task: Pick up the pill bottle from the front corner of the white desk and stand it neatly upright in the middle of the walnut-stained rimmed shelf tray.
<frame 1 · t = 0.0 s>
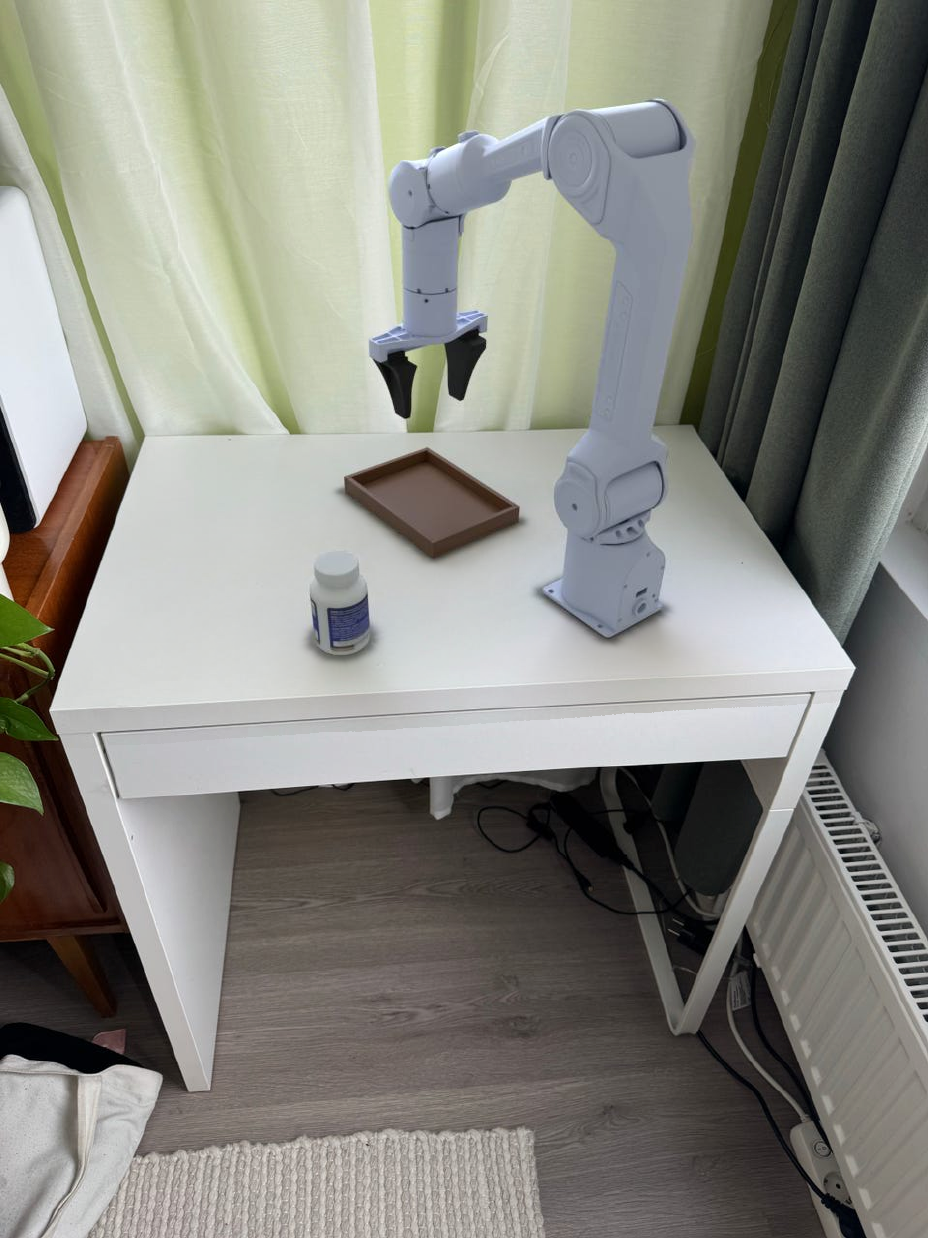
hand: (429, 406, 105), 10 cm above the table, tool pointing down, fingers open, 7 cm apart
pill bottle: (342, 640, 88), on the table
shelf tray: (430, 506, 107), on the table
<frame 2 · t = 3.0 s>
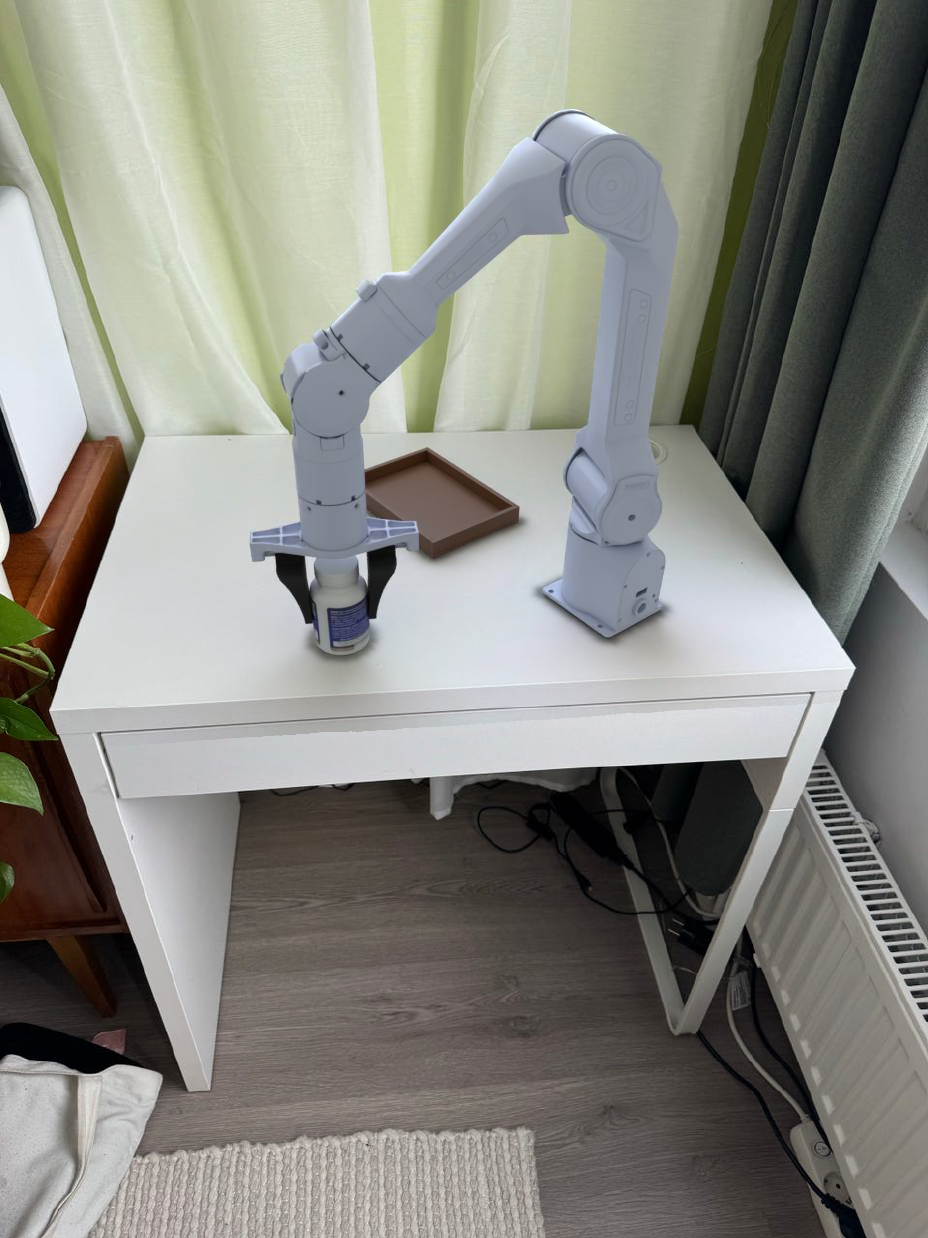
hand: (341, 614, 86), 3 cm above the table, tool pointing down, fingers closed on pill bottle, 5 cm apart
pill bottle: (342, 640, 88), on the table, touching gripper
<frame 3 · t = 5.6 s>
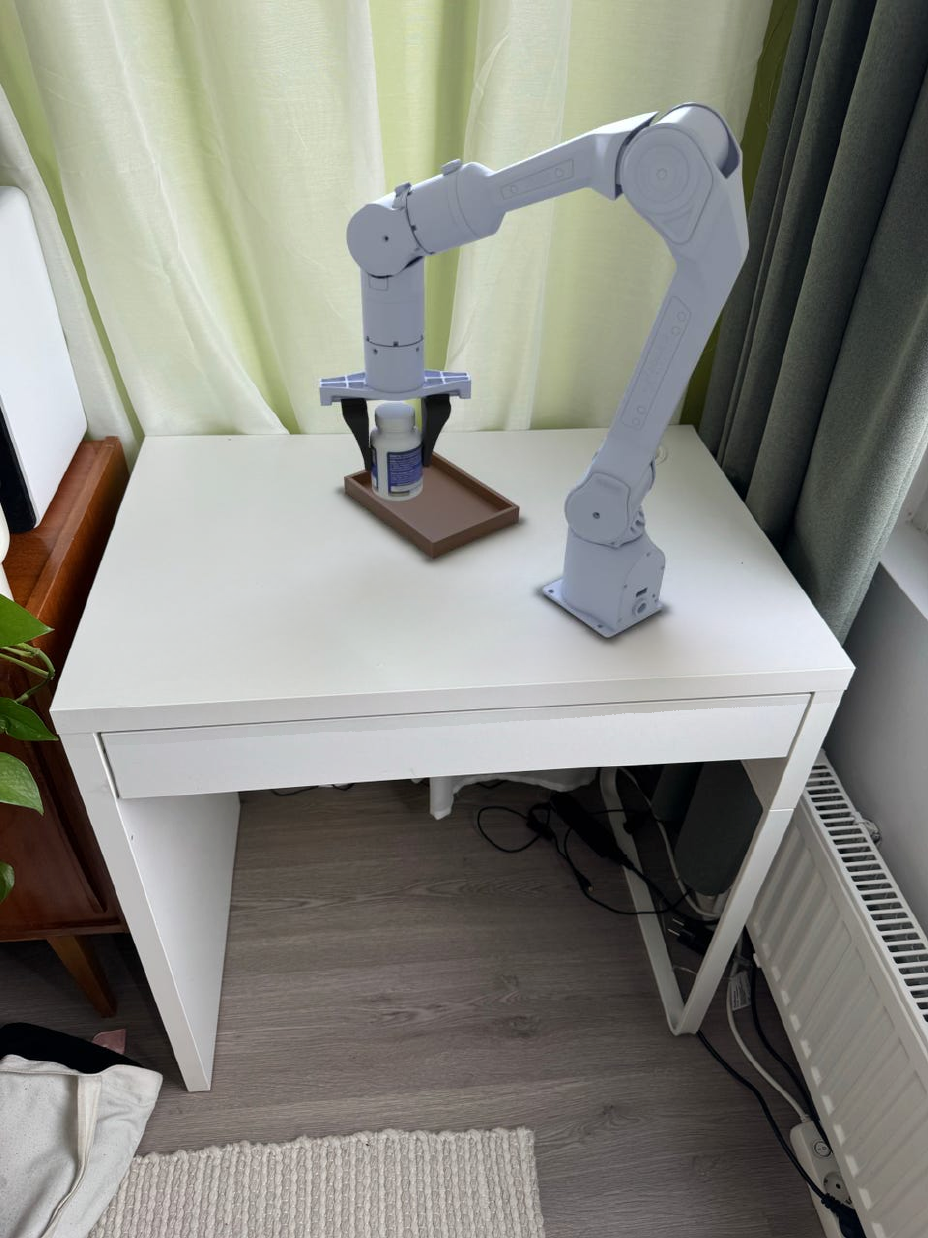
hand: (397, 464, 95), 10 cm above the table, tool pointing down, fingers closed on pill bottle, 5 cm apart
pill bottle: (397, 490, 96), point 7 cm above the table, touching gripper
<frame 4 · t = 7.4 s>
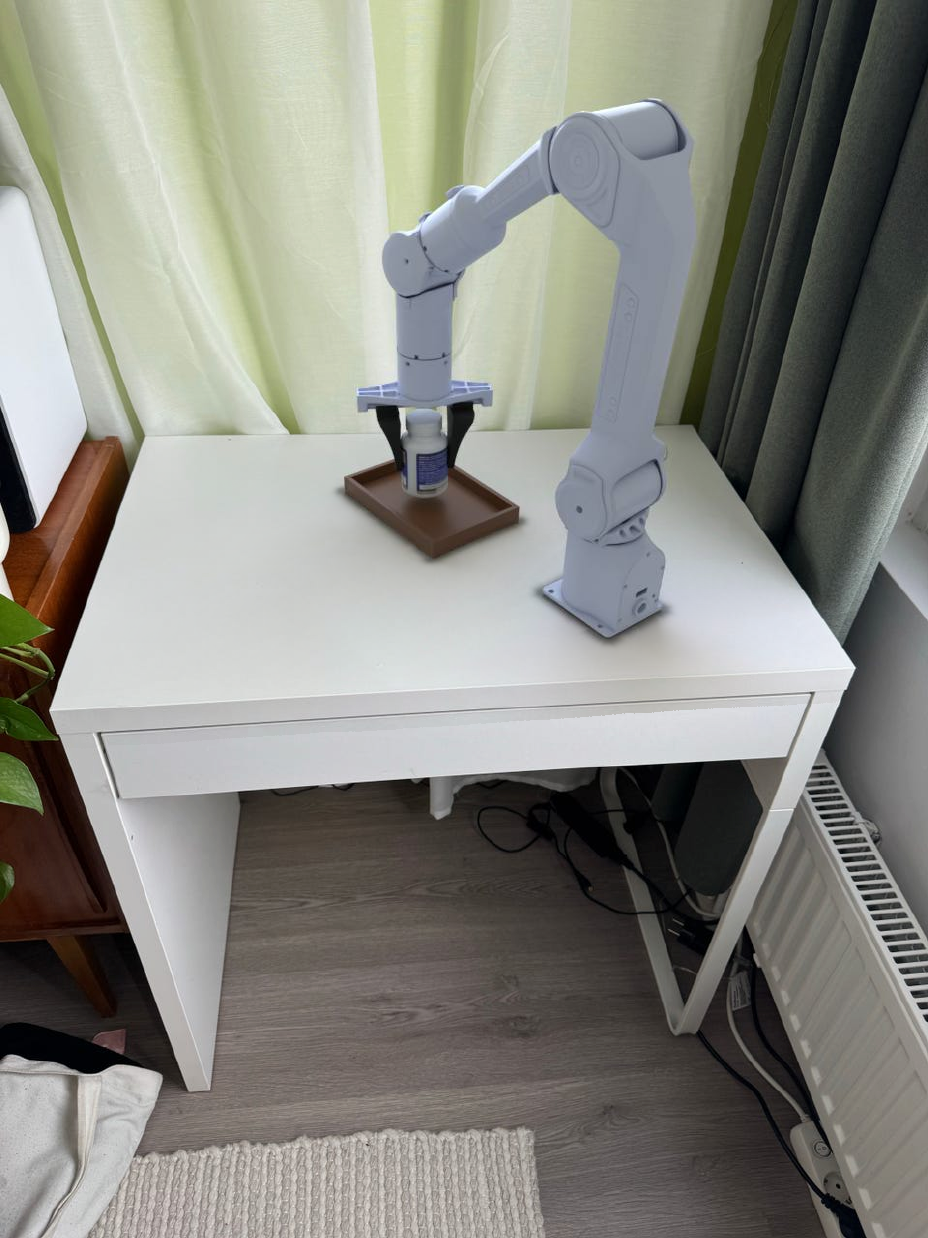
hand: (424, 465, 105), 5 cm above the table, tool pointing down, fingers closed on pill bottle, 5 cm apart
pill bottle: (424, 488, 107), point 2 cm above the table, touching gripper
when the fingers open (3 cm above the table, at t = 8.4 s): pill bottle stays where it is, resting on shelf tray.
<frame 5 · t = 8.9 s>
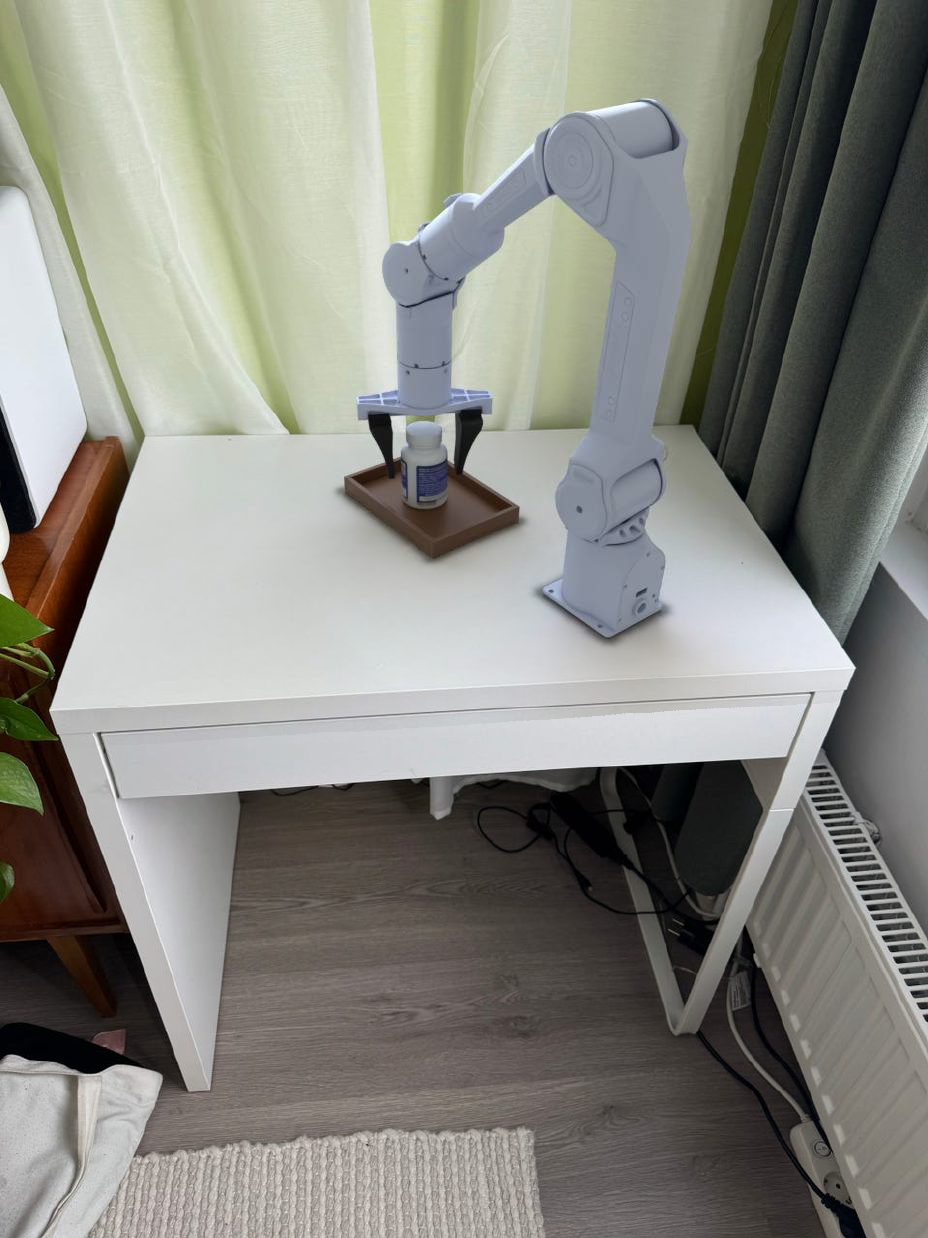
hand: (424, 472, 105), 4 cm above the table, tool pointing down, fingers open, 7 cm apart
pill bottle: (424, 500, 107), resting on shelf tray
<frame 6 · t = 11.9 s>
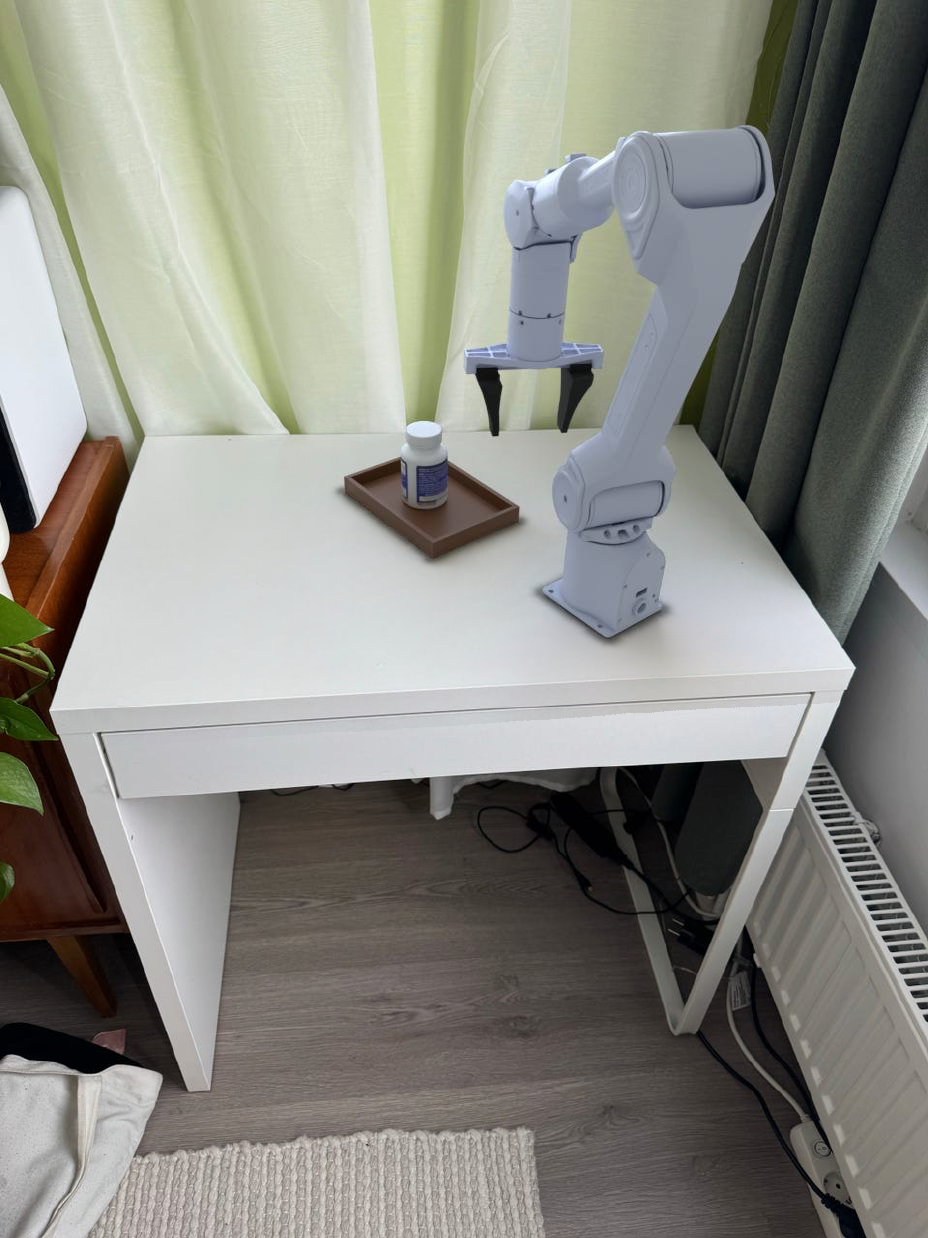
hand: (528, 430, 102), 9 cm above the table, tool pointing down, fingers open, 7 cm apart
nothing on the table moved.
at the end: pill bottle inside the target area in the shelf tray (1.0 cm from its centre), point 0.3 cm above the shelf tray's base; pill bottle tilted 0°; the gripper is holding nothing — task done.
